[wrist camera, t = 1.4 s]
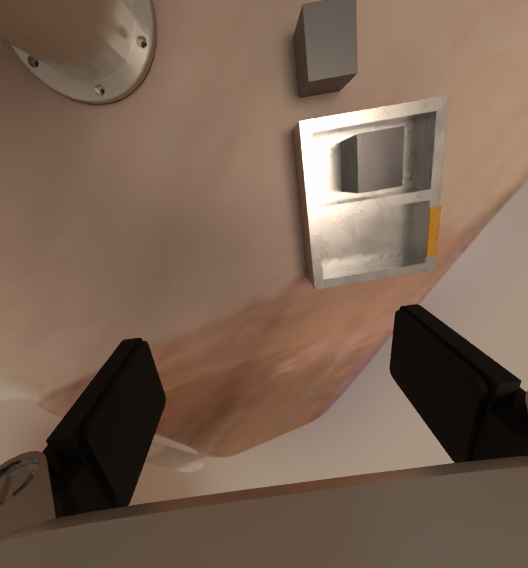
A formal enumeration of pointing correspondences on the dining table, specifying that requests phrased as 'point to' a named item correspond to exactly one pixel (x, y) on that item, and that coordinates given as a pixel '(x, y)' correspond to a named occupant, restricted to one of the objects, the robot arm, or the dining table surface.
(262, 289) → the dining table surface
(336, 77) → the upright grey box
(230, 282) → the dining table surface
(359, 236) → the grey divided tray
